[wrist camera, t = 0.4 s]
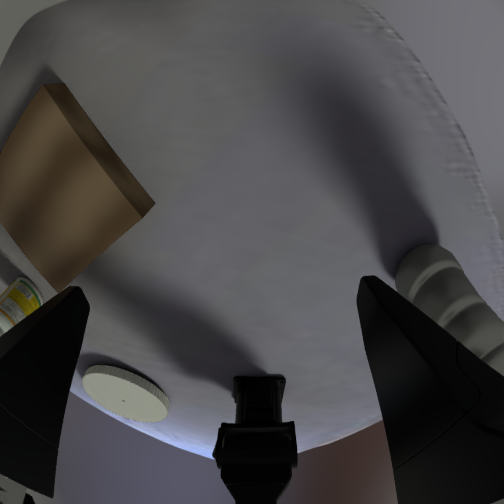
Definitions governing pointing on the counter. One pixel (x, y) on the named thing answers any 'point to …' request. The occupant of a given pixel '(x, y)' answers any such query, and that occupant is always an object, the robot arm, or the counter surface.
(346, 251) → the counter surface
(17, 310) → the supplement bottle
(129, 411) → the plastic lid
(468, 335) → the plastic bottle
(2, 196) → the walnut plinth
